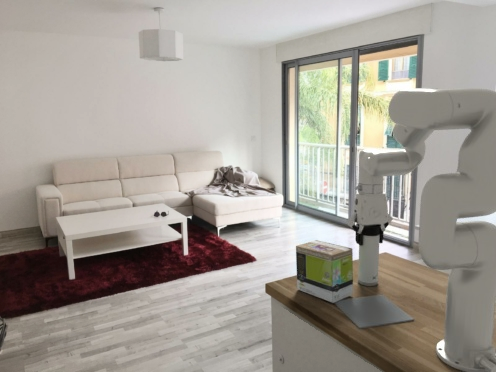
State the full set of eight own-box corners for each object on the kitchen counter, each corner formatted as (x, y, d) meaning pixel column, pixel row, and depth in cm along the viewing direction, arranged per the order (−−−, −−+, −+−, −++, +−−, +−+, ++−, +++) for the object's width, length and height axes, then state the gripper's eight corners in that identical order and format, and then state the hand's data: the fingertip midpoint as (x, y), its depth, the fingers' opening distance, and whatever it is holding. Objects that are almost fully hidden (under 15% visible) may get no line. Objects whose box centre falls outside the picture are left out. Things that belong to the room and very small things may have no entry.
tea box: (354, 294, 127) (353, 247, 125) (332, 304, 121) (331, 255, 118) (317, 281, 138) (316, 238, 136) (295, 289, 132) (294, 245, 130)
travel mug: (379, 287, 133) (382, 226, 129) (358, 285, 134) (360, 225, 131) (377, 279, 139) (380, 221, 135) (357, 278, 140) (359, 220, 137)
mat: (414, 320, 111) (414, 319, 111) (359, 328, 108) (359, 327, 107) (382, 295, 126) (382, 294, 126) (333, 302, 123) (333, 301, 123)
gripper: (350, 192, 125) (350, 249, 128) (402, 188, 129) (399, 244, 132) (340, 188, 133) (339, 242, 136) (388, 184, 136) (387, 237, 139)
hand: (369, 242), depth 134 cm, fingers closed on travel mug, 6 cm apart
